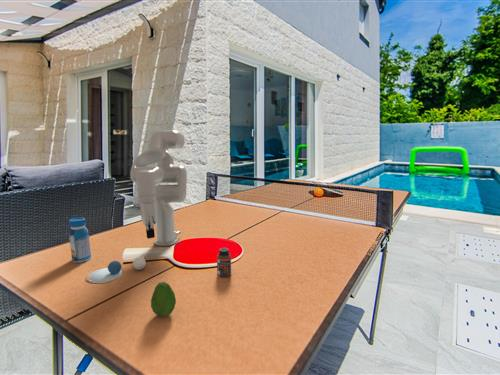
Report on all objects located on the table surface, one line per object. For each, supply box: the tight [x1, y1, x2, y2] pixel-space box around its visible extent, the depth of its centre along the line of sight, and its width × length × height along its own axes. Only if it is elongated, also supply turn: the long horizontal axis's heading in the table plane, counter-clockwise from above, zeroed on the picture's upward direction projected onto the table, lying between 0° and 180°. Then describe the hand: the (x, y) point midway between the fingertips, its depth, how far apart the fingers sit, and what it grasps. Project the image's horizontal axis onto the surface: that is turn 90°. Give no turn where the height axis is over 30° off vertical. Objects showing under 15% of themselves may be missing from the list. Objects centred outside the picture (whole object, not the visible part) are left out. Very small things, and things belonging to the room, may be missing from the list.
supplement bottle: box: [216, 247, 232, 278], centre depth 135 cm, size 6×6×11 cm
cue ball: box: [132, 256, 147, 271], centre depth 142 cm, size 6×6×6 cm
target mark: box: [85, 267, 123, 284], centre depth 137 cm, size 14×14×1 cm
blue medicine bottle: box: [68, 216, 92, 263], centre depth 151 cm, size 8×8×20 cm
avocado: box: [150, 281, 177, 318], centre depth 107 cm, size 8×8×12 cm
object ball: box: [107, 260, 123, 274], centre depth 138 cm, size 6×6×6 cm
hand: (150, 237), depth 144 cm, fingers closed
